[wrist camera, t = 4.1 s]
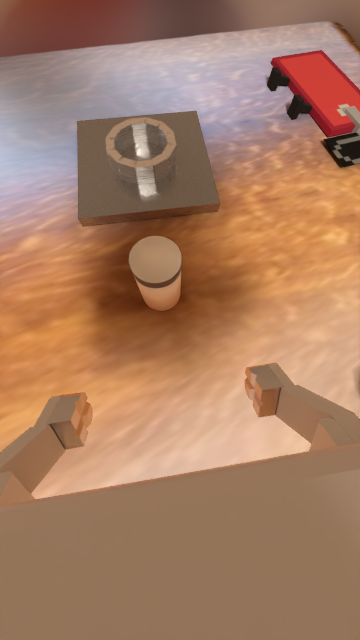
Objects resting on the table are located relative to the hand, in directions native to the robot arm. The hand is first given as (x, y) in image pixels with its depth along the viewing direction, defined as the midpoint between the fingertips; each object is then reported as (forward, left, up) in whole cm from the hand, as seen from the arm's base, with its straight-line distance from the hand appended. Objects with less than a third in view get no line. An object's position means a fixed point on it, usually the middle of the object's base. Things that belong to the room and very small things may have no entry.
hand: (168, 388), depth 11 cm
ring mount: (0, +34, -14) cm, 37 cm away
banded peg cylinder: (0, +12, -14) cm, 18 cm away
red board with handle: (+34, +45, -15) cm, 58 cm away
